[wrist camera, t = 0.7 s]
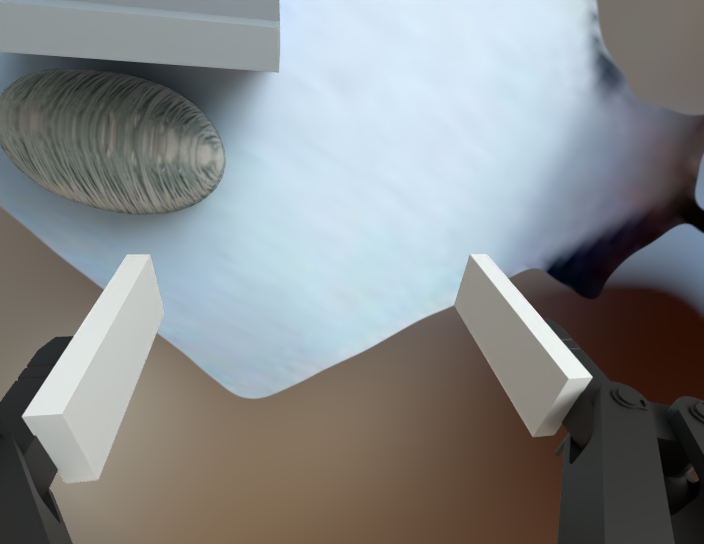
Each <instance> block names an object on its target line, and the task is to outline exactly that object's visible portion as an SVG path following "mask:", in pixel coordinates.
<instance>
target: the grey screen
mask: <svg viewBox="0 0 704 544" xmlns="http://www.w3.org/2000/svg"><path fill="white" fill-rule="evenodd" d="M0 52H9V53H23V54H36V55H50V56H63V57H77V58H90V59H104V60H117V61H131V62H144V63H158V64H171V65H185V66H198V67H212V68H225V69H239V70H252V71H266V72H279V57H280V18H279V0H0Z"/></svg>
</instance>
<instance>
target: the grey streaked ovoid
mask: <svg viewBox="0 0 704 544" xmlns="http://www.w3.org/2000/svg"><path fill="white" fill-rule="evenodd" d="M0 143H1V146H2V148H3V150H4V151H5V153H6V154H7V155H8V157H9V158H10V159H11V160H12V161H13V163H14V164H15V165H16V166H17V167H18V168H19V169H20V170H21V171H22V172H24V173H25V174H26V175H27V176H28V177H30V178H31V179H32V180H34V181H35V182H37V183H38V184H39V185H41V186H42V187H44V188H45V189H47V190H49V191H51V192H53V193H55V194H57V195H60V196H62V197H64V198H67V199H69V200H72V201H75V202H78V203H82V204H85V205H88V206H91V207H94V208H99V209H103V210H108V211H113V212H118V213H126V214H138V215H146V214H160V213H169V212H174V211H178V210H181V209H184V208H188V207H190V206H192V205H195V204H196V203H198V202H200V201H201V200H203V199H204V198H206V197H207V196H208V195H209V194H211V193H212V192H213V191H214V190H215V189H216V187H217V186H218V184H219V182H220V180H221V178H222V176H223V173H224V168H225V153H224V147H223V144H222V141H221V139H220V136H219V134H218V132H217V130H216V129H215V127H214V126H213V124H212V123H211V121H210V120H209V119H208V118H207V117H206V115H205V114H204V113H203V112H202V111H201V110H200V109H199V108H198V107H196V106H195V105H194V104H193V103H192V102H191V101H189V100H188V99H186V98H185V97H183V96H182V95H180V94H179V93H177V92H175V91H173V90H171V89H169V88H167V87H165V86H162V85H160V84H157V83H155V82H152V81H149V80H146V79H143V78H139V77H136V76H131V75H127V74H120V73H115V72H109V71H99V70H90V69H54V70H45V71H40V72H37V73H34V74H31V75H28V76H25V77H21V78H20V79H18V80H17V81H15V82H14V83H13V84H12V85H10V86H9V87H8V88H6V89H5V91H4V92H3V94H2V95H1V97H0Z"/></svg>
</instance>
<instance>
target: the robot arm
mask: <svg viewBox="0 0 704 544" xmlns="http://www.w3.org/2000/svg"><path fill="white" fill-rule="evenodd" d="M454 306H455V307H456V309H457V311H458V312H459V314H460V316H461V317H462V319H463V321H464V322H465V324H466V326H467V327H468V329H469V331H470V332H471V334H472V336H473V338H474V339H475V341H476V342H477V344H478V346H479V348H480V349H481V351H482V352H483V354H484V356H485V358H486V359H487V361H488V363H489V364H490V366H491V368H492V369H493V371H494V373H495V374H496V376H497V378H498V379H499V381H500V383H501V384H502V386H503V388H504V389H505V391H506V393H507V395H508V396H509V398H510V400H511V401H512V403H513V405H514V406H515V408H516V410H517V411H518V413H519V414H520V416H521V418H522V419H523V421H524V423H525V425H526V426H527V428H528V430H529V431H530V433H531V435H532V436H533V437H539V436H549V435H555V433H556V432H557V430H558V428H559V427H560V426H561V424H562V423H563V425H564V426H565V428H566V429H567V431H568V432H569V433H568V435H567V436H566V437H565V439H564V440H563V442H562V443H561V445H560V446H559V448H558V449H557V451H556V453H555V455H557V456H559V455H560V454H561V452H562V451H564V458H563V472H562V486H561V501H560V516H559V530H558V544H704V401H702V400H699V399H696V398H693V397H686V396H684V397H680V398H678V399H677V401H676V402H675V403H674V404H673V405H672V406H667V405H662V404H657V403H652V402H648V401H647V400H646V399H645V398H644V397H643V396H642V395H641V394H640V393H638V392H637V391H636V390H634V389H632V388H630V387H629V386H626V385H625V384H621V383H617V382H611V381H610V380H609V379H608V378H607V377H606V376H605V375H604V374H603V372H602V371H601V370H600V369H599V368H598V367H597V366H596V365H595V364H594V362H593V361H592V360H591V359H590V358H589V357H588V356H587V355H586V354H585V353H584V351H583V350H582V349H581V350H580V347H579V346H578V345H577V344H576V343H575V341H572V338H571V337H570V336H569V335H568V334H567V333H566V331H565V330H564V329H563V328H562V327H560V326H559V325H557V324H556V323H554V322H553V321H552V320H550V319H549V318H544V319H542V318H541V316H540V315H539V314H538V313H537V312H536V311H535V310H534V308H533V307H532V306H531V305H530V304H529V303H528V301H527V300H526V299H525V298H524V297H523V296H522V294H521V293H520V292H519V291H518V290H517V289H516V287H515V286H514V285H513V284H512V283H511V282H510V281H509V279H508V278H507V277H506V276H505V275H504V274H503V272H502V271H501V270H500V269H499V268H498V267H497V265H496V264H495V263H494V262H493V261H492V260H491V258H490V257H489V256H488V255H487V254H470V256H469V259H468V262H467V265H466V269H465V272H464V275H463V278H462V281H461V285H460V288H459V291H458V294H457V297H456V301H455V304H454ZM163 316H164V309H163V304H162V300H161V296H160V292H159V288H158V284H157V280H156V276H155V271H154V267H153V263H152V259H151V255H150V254H127V256H126V257H125V259H124V260H123V262H122V263H121V265H120V266H119V268H118V270H117V271H116V273H115V274H114V276H113V277H112V279H111V280H110V282H109V283H108V285H107V286H106V288H105V290H104V291H103V293H102V294H101V296H100V297H99V299H98V300H97V302H96V303H95V305H94V306H93V308H92V309H91V311H90V313H89V314H88V316H87V317H86V319H85V320H84V322H83V323H82V325H81V326H80V328H79V330H78V331H77V333H76V334H75V336H72V337H71V336H70V337H55V338H54V339H52V340H51V341H50V342H48V343H47V344H46V345H45V346H43V347H42V348H41V349H39V350H38V351H37V352H36V354H35V355H34V357H33V358H32V359H31V361H30V362H29V364H28V365H27V368H25V369H24V370H23V372H22V373H21V374H20V376H19V377H18V381H15V383H14V384H13V385H12V387H11V388H10V389H9V391H8V392H7V393H6V395H5V396H4V398H3V399H2V400H1V402H0V544H73V543H72V541H71V538H70V536H69V533H68V531H67V528H66V526H65V523H64V521H63V518H62V515H61V513H60V511H59V508H58V505H57V503H56V500H55V498H54V495H53V493H52V492H51V490H50V489H49V487H50V485H51V483H52V481H53V479H54V477H55V475H56V473H57V472H58V473H59V475H60V477H61V478H62V480H63V481H64V483H73V482H83V481H93V480H98V479H99V477H100V474H101V472H102V469H103V467H104V464H105V462H106V459H107V457H108V454H109V452H110V449H111V446H112V444H113V442H114V439H115V437H116V434H117V431H118V429H119V426H120V424H121V421H122V419H123V416H124V414H125V411H126V409H127V406H128V404H129V401H130V399H131V396H132V394H133V391H134V389H135V386H136V384H137V381H138V379H139V376H140V374H141V371H142V368H143V366H144V363H145V361H146V358H147V356H148V353H149V351H150V348H151V346H152V343H153V341H154V338H155V336H156V333H157V331H158V328H159V326H160V323H161V321H162V318H163ZM693 469H695V471H696V473H697V475H698V478H699V481H698V482H695V480H694V479H693V477H692V475H691V473H690V472H691V471H692V470H693Z"/></svg>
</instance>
